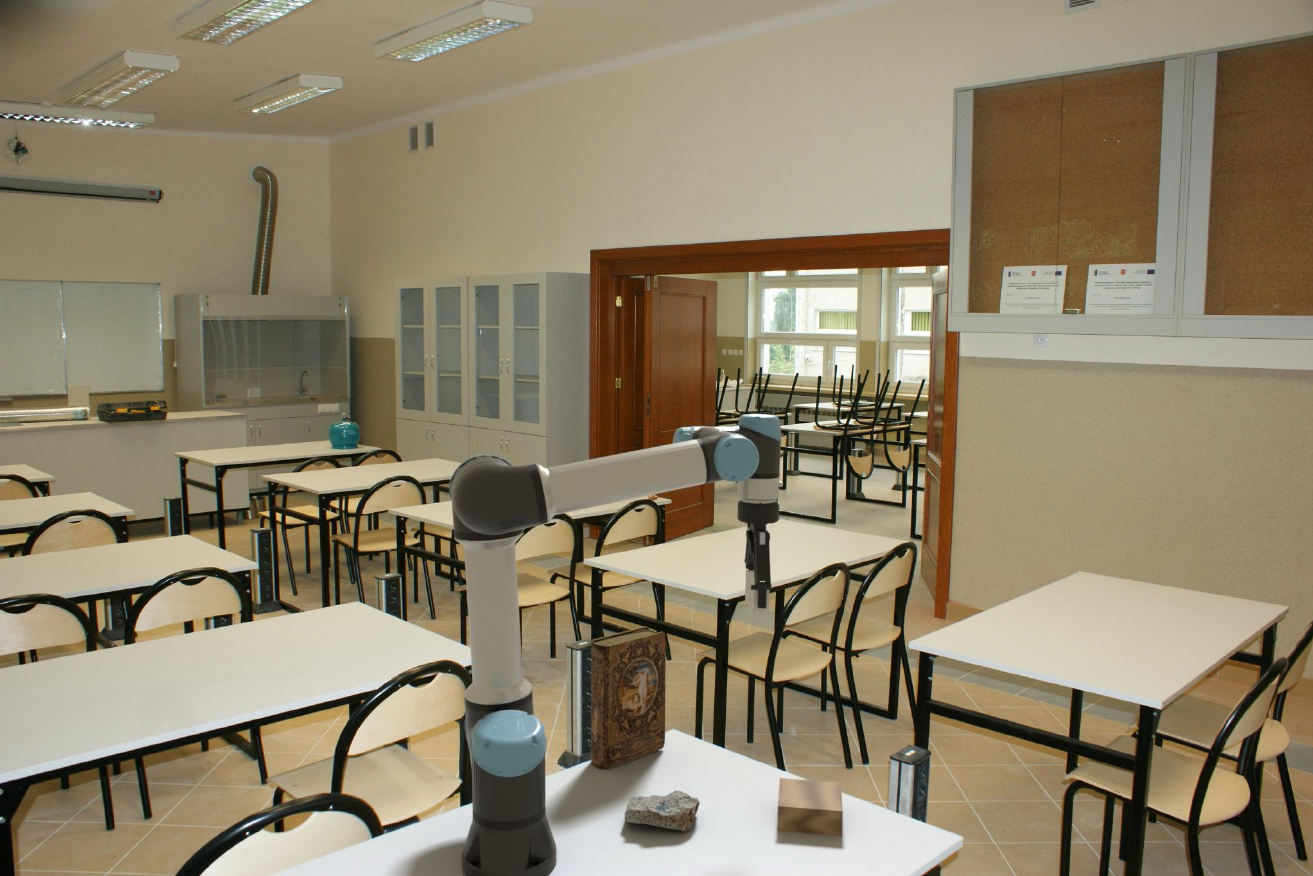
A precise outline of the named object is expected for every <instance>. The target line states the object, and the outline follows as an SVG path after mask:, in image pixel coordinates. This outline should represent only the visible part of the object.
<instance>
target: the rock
mask: <svg viewBox="0 0 1313 876" xmlns="http://www.w3.org/2000/svg"><path fill="white" fill-rule="evenodd" d="M700 804H701V803H700V800H699V798H698V797H693V796H691V795H690V794H687V793H686V792H683V791H681V790H674V791H673V792H670V793H668V794H666V795H664V796H663V795H654V794H653V795H650V796H642V795H638V796H631V797H629V798H628V803H627V807H626V809H625V810H624V821H625V822H627V823H631V824H640V825H641V824H646V825H650V826H655V827H660V828H665V829H668V830H674V831H675V830H676V831H682V832H687V831H689V830H690V829H692V827H694V825H695V820H696V815H697V813H698V810H699V806H700Z"/></svg>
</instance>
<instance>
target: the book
mask: <svg viewBox="0 0 1313 876" xmlns="http://www.w3.org/2000/svg"><path fill="white" fill-rule="evenodd" d="M590 645H591V648H590V649H591V651H590V653H591V654H590V659H591V661H590V671H591V672H590V673H591V674H590V677H591V679H590V680H591V683H590V686H591V687H590V690H591V691H590V694H591V696H590V701H591V702H590V703H591V704H590V707H591V708H590V720H591V721H590V725H591V727H590V731H591V732H590V764H591V765H592V766H593V767H595V768H598V769H601V770H610V769H613V768H615V767H619V766H620V765H621V766H622V765H624V764H626V763H629V762H632V761H634V760H637V759H639V758H643V757H645V756H648V755H650V754H653V753H655V752H657V751H659V750H660V751H661V750H662V749H663V748H664V746H665V743H666V670H667V669H666V664H667V663H666V659H667V657H666V656H667V655H666V654H667V652H666V651H667V649H666V645H667V644H666V633H665V632H664V631H659V632H658V631H653V630H652V629H651V630H650V629H649V627H648V626H642V627H638V628H633V629H629V630H626V631H621V632H617V633H614V634H610V635H606V636H603V637H598V638H593V639H592V640H591V642H590Z"/></svg>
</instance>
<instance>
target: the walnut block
mask: <svg viewBox="0 0 1313 876" xmlns="http://www.w3.org/2000/svg"><path fill="white" fill-rule="evenodd" d="M841 783H842V782H836V781H826V780H814V779H813V780H811V779H799V778H798V779H797V778H787V777H786V778H785V777H782V778H781V777H780V778H779V783H778V784H779V785H778V801H777V831H778V832H788V833H799V834H800V833H801V834H812V835H813V834H814V835H825V836H836V837H843V820H844V819H843V818H844V815H843V814H844V810H843V808H844V807H843V800H842V799H843V795H842V784H841Z"/></svg>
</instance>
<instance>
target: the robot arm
mask: <svg viewBox="0 0 1313 876" xmlns="http://www.w3.org/2000/svg"><path fill="white" fill-rule="evenodd" d="M672 438H673V439H672V443H670V444H664V445H658V446H654V447H649V448H643V449H639V450H633V451H627V452H622V453H618V454H613V455H607V456H602V457H597V458H591V459H586V460H581V461H576V462H571V463H566V464H561V465H555V466H550V467H544V466H542V465H541V464H540V463H536V462H535V463H532V464H527V465H526V464H525V465H512V464H511V463H510V462H508V461H507V460H506V459H504V458H502V457H499V456H498V455H491V454H479V455H478V454H477V455H475V456H472V457H469V458H467V459H466V460H464V461H463V462H461V464H459V465H458V466H457V468H456V469H454V471H453V474H452V475H451V478H450V480H449V486H448V490H449V491H448V492H449V498H450V499H451V508H452V509H451V510H452V525H453V537H454V540H455V541H456V542H457V543H459V544H460V545H461V546H462V547H463V553H464V568H465V569H464V570H465V581H466V582H465V583H466V586H465V587H466V599H467V615H468V628H469V645H470V647H469V648H470V660H471V661H470V663H471V675H472V678H471V679H472V683H471V684H470V685H469V686H468V687H467V688H466V690H464V707H465V708H464V709H465V720H464V731H465V733H464V734H465V738H466V741H467V746H468V751H469V758H470V759H469V760H470V767H471V781H472V783H471V790H472V791H471V792H472V793H471V795H472V796H471V797H472V799H471V800H472V804H471V805H472V820H471V823H470V827H469V829H468V833H467V835H466V836H467V837H466V840H465V842H464V845H463V849H462V853H461V869H462V870H463V871H462V873H463V875H464V874H465V875H464V876H549V875H550V874H551V873H552V872H553V871H554V869H555V867H556V865H557V863H558V862H557V855H558V854H557V853H558V851H557V850H558V849H557V844H556V841H555V838H554V835H553V832H552V829H551V826H550V824H549V820H548V818H547V814H546V808H547V807H546V803H547V802H546V799H547V798H546V795H547V794H546V751H547V745H548V744H547V737H546V732H545V727H544V725H543V723H542V721H541V720H540V719H539V718H538V717H536V716H535V713H534V712H535V711H534V699H533V697H534V696H533V685H532V683H531V682H529V681H528V680H527V679H525V678H524V675H523V661H522V660H523V658H522V657H523V656H522V642H521V641H522V640H521V624H520V622H521V621H520V607H519V605H520V604H519V589H518V586H519V585H518V573H517V570H518V569H517V557H516V554H517V553H516V543H517V541H518V540H519V539H520V538H521V537H522V536H523V535H524V530H525V529H527V528H533V527H535V526H541V525H546V524H549V523H550V522H551V521H552V519H553V518H554V517H555V516H557V515H561V514H566V513H570V512H575V511H576V512H578V511H580V510H585V509H589V508H594V507H599V506H605V505H609V504H614V503H619V502H623V501H629V500H632V499H633V500H634V499H637V498H639V499H640V498H643V497H648V496H652V495H658V494H663V493H667V492H672V491H676V490H680V489H685V488H686V489H687V488H691V487H696V486H699V485H704V484H712V483H716V482H721V481H722V482H723V481H726V482H732V483H733V482H734V483H735V482H736V483H737V497H738V499H739V500H738V501H737V520H738V521H739V522H741V523H744V524H746V525H747V526H746V530H745V537H746V538H745V539H746V541H745V555H744V560H743V561H744V564H745V565H744V566H745V569H746V570H745V588H744V589H745V593H744V595H745V597H744V599H745V600H744V601H745V602H744V603H745V606H746V605H749V606H752V613H753V614H752V626H753V627H755V626H757V627H758V626H759V627H760V626H761V627H762V626H763V627H769V626H770V625H769V624H770V623H769V622H770V590H771V589H772V585H773V584H772V580H771V555H770V553H771V552H770V541H771V533H770V532H769V530H768V529H767V526H768V524H775V523H778V521H779V520H780V502H779V501H778V499H779V498H780V489H779V488H782V487H783V485H784V483H783V481H780V477H781V476H780V475H781V471H780V470H781V469H780V466H781V449H782V448H781V447H782V445H781V443H782V428H781V421H780V418H779V417H778V416H777V415H774V414H766V413H763V414H762V413H750V414H742V415H740V416H739V418H738V423H737V425H731V426H696V425H692V426H686V427H685V426H684V427H683V426H681V427H679V428H677V429H676V430H675V432H674V434H673V437H672Z"/></svg>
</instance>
